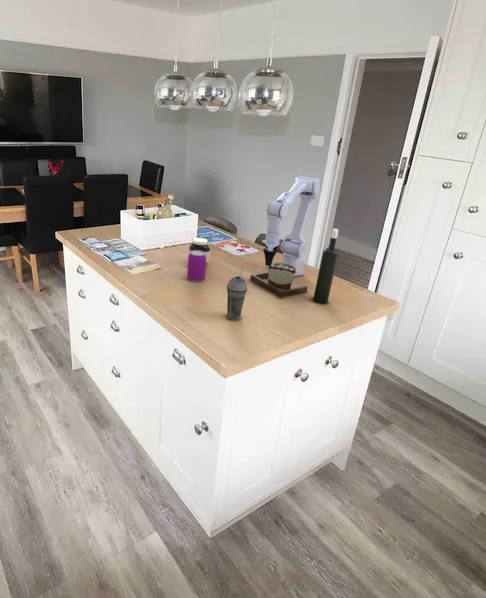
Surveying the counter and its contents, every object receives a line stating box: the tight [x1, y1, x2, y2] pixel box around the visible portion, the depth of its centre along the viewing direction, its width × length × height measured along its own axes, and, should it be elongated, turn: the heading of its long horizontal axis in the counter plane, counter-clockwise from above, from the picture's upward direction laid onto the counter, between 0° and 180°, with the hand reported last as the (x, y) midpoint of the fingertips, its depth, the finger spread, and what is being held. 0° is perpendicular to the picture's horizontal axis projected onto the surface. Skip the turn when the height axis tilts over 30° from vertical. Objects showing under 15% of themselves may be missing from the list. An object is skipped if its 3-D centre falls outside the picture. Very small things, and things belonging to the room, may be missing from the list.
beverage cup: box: [226, 265, 248, 321], centre depth 146 cm, size 7×7×20 cm
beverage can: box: [186, 250, 207, 283], centre depth 179 cm, size 8×8×12 cm
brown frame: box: [249, 271, 309, 298], centre depth 180 cm, size 15×20×2 cm
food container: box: [266, 262, 296, 291], centre depth 178 cm, size 12×6×10 cm, turn 71°
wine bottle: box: [312, 228, 340, 305], centre depth 163 cm, size 6×6×30 cm
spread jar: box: [187, 237, 211, 265], centre depth 196 cm, size 12×11×12 cm
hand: (269, 262), depth 177 cm, fingers open, 7 cm apart
